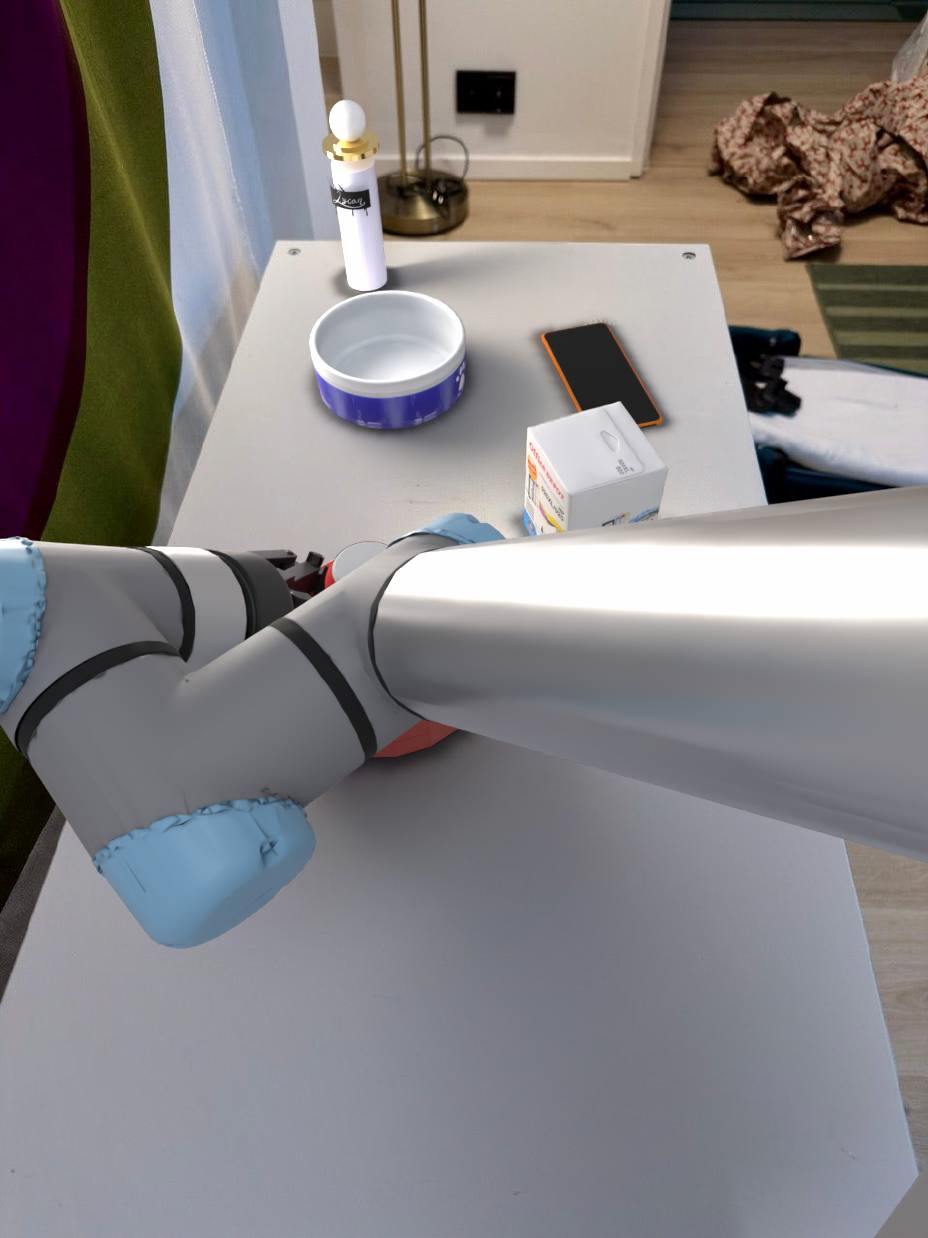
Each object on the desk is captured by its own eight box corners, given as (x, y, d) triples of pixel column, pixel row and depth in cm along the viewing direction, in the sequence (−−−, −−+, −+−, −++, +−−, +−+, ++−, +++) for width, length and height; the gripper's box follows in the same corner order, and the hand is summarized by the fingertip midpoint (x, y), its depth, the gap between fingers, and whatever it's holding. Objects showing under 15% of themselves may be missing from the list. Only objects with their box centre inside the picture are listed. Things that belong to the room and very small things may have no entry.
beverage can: (414, 701, 68) (401, 605, 59) (335, 691, 69) (310, 594, 60) (429, 637, 72) (419, 536, 62) (354, 628, 73) (333, 527, 63)
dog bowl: (347, 329, 98) (339, 280, 93) (482, 348, 96) (482, 298, 91) (297, 420, 90) (286, 370, 85) (444, 443, 87) (441, 394, 82)
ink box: (520, 524, 80) (523, 423, 71) (605, 498, 82) (619, 395, 73) (560, 594, 75) (570, 495, 66) (650, 564, 77) (672, 464, 68)
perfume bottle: (351, 268, 105) (326, 85, 89) (399, 273, 105) (382, 90, 89) (336, 296, 102) (307, 112, 86) (385, 302, 101) (365, 116, 85)
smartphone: (591, 440, 86) (592, 434, 86) (539, 339, 96) (539, 332, 96) (665, 425, 87) (666, 419, 87) (606, 326, 97) (607, 319, 96)
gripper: (63, 594, 54) (296, 591, 74) (309, 773, 46) (493, 714, 67) (102, 479, 52) (330, 508, 72) (364, 645, 44) (536, 625, 65)
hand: (408, 607), depth 69 cm, fingers open, 7 cm apart
